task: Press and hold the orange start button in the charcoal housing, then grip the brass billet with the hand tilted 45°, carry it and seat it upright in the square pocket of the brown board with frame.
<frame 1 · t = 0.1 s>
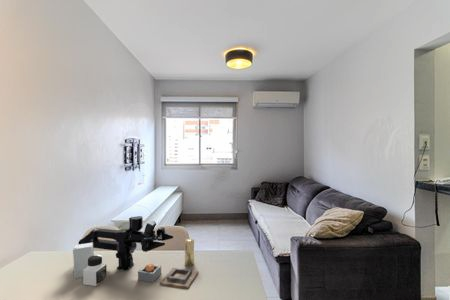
hand: (169, 240, 126), 17 cm above the table, tool horizontal, fingers open, 9 cm apart
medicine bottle: (95, 281, 118), on the table
skincare box: (84, 274, 124), on the table
start button: (149, 268, 122), point 4 cm above the table, slide at 0.0 cm
button housing: (149, 276, 122), on the table
brown board with frame: (179, 278, 121), on the table
brass billet: (189, 264, 135), on the table
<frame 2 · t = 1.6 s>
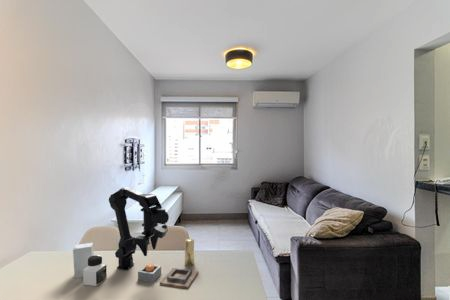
hand: (149, 252, 122), 12 cm above the table, tool pointing down, fingers open, 8 cm apart
nothing on the table moved.
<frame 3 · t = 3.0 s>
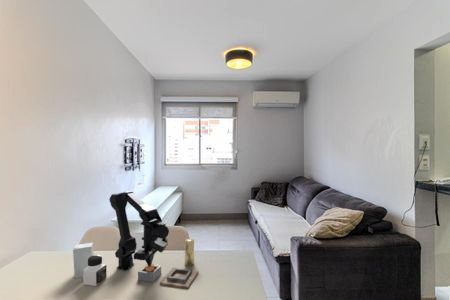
hand: (149, 265, 122), 5 cm above the table, tool pointing down, fingers closed, pressing on start button
start button: (149, 268, 122), point 4 cm above the table, slide at 0.1 cm, touching gripper
everything else where it was.
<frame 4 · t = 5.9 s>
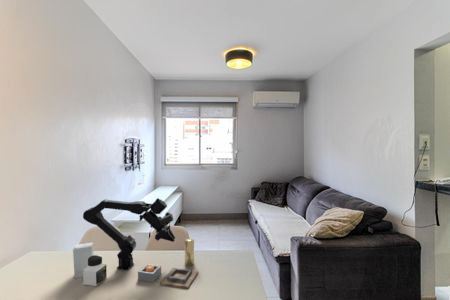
hand: (174, 239, 134), 14 cm above the table, tool tilted 45°, fingers open, 3 cm apart
start button: (149, 270, 122), point 3 cm above the table, slide at 0.9 cm
everything else where it was.
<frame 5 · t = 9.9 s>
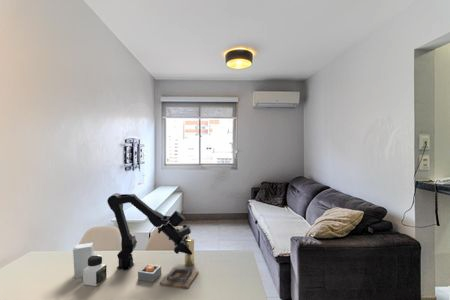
hand: (192, 251, 135), 7 cm above the table, tool tilted 45°, fingers closed on brass billet, 5 cm apart
brass billet: (189, 263, 135), on the table, touching gripper
everything else where it was.
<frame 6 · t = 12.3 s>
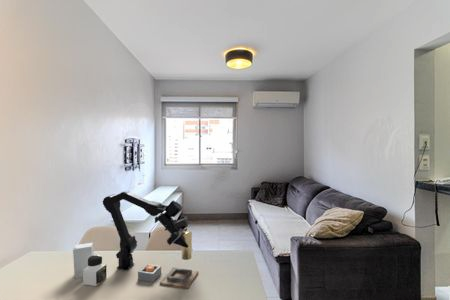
hand: (189, 245, 128), 13 cm above the table, tool tilted 45°, fingers closed on brass billet, 5 cm apart
brass billet: (186, 257, 128), point 7 cm above the table, touching gripper
everything else where it was.
when the fingers open (8 cm above the table, at t = 15.0 s): brass billet stays where it is, resting on brown board with frame.
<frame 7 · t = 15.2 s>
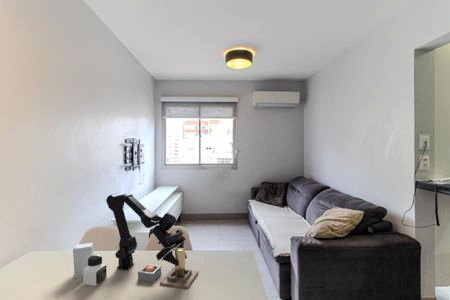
hand: (182, 261, 120), 9 cm above the table, tool tilted 45°, fingers open, 7 cm apart
brass billet: (179, 276, 121), point 1 cm above the table, touching brown board with frame
everything else where it was.
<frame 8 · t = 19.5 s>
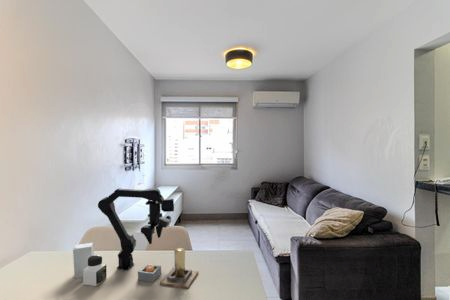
hand: (154, 240, 134), 13 cm above the table, tool pointing down, fingers open, 9 cm apart
nothing on the table moved.
at the end: brass billet 0.0 cm off-centre on the brown board with frame, point 1.0 cm above the brown board with frame's base; brass billet tilted 0°; start button slide at 0.9 cm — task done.
